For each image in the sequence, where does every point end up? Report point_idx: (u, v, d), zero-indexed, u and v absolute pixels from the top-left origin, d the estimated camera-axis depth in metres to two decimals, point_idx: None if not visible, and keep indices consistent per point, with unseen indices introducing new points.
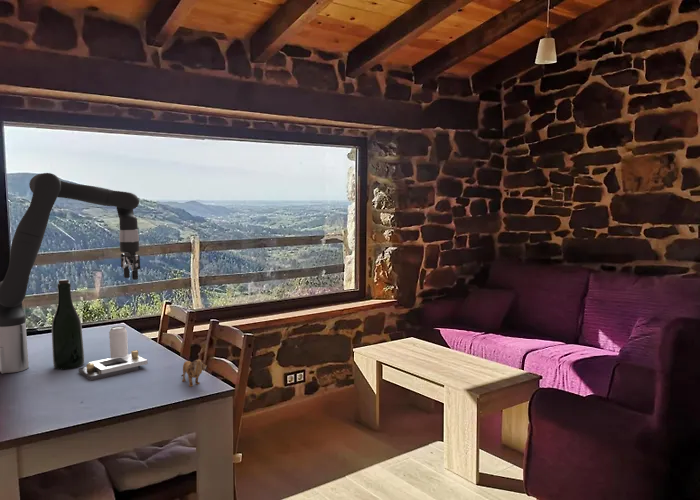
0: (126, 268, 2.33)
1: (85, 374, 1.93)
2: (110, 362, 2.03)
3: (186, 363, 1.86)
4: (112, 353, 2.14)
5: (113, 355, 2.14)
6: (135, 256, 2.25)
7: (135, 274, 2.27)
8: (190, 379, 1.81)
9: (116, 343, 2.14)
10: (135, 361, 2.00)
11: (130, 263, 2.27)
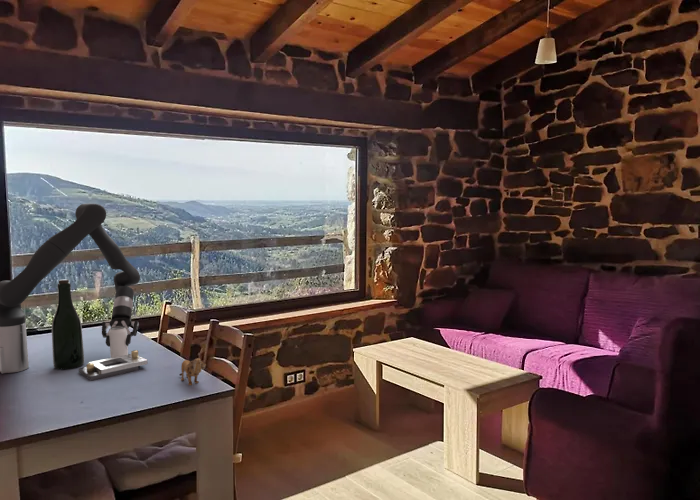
0: None
1: (85, 374, 1.93)
2: (110, 362, 2.03)
3: (185, 362, 1.87)
4: (112, 353, 2.14)
5: (113, 355, 2.14)
6: (137, 322, 2.22)
7: (130, 339, 2.17)
8: (189, 378, 1.82)
9: (116, 343, 2.14)
10: (135, 361, 2.00)
11: (127, 327, 2.19)
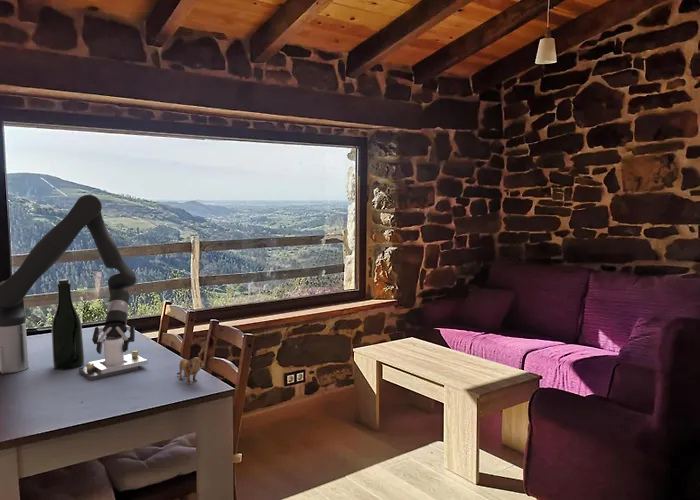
0: (101, 342, 2.00)
1: (85, 374, 1.93)
2: None
3: (183, 361, 1.88)
4: (107, 366, 1.98)
5: None
6: (133, 327, 2.05)
7: (127, 345, 2.01)
8: (188, 376, 1.84)
9: (111, 355, 1.97)
10: (135, 361, 2.00)
11: (123, 333, 2.02)
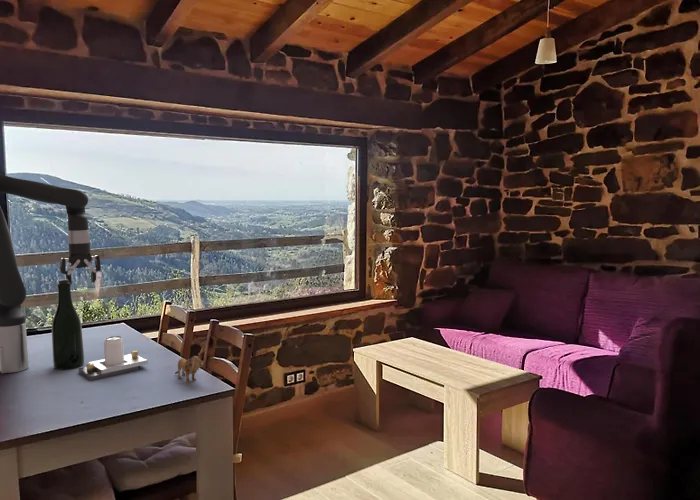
0: None
1: (85, 374, 1.93)
2: None
3: (181, 360, 1.89)
4: (107, 366, 1.98)
5: None
6: None
7: None
8: (187, 375, 1.85)
9: (111, 355, 1.97)
10: (135, 361, 2.00)
11: (91, 265, 2.14)
